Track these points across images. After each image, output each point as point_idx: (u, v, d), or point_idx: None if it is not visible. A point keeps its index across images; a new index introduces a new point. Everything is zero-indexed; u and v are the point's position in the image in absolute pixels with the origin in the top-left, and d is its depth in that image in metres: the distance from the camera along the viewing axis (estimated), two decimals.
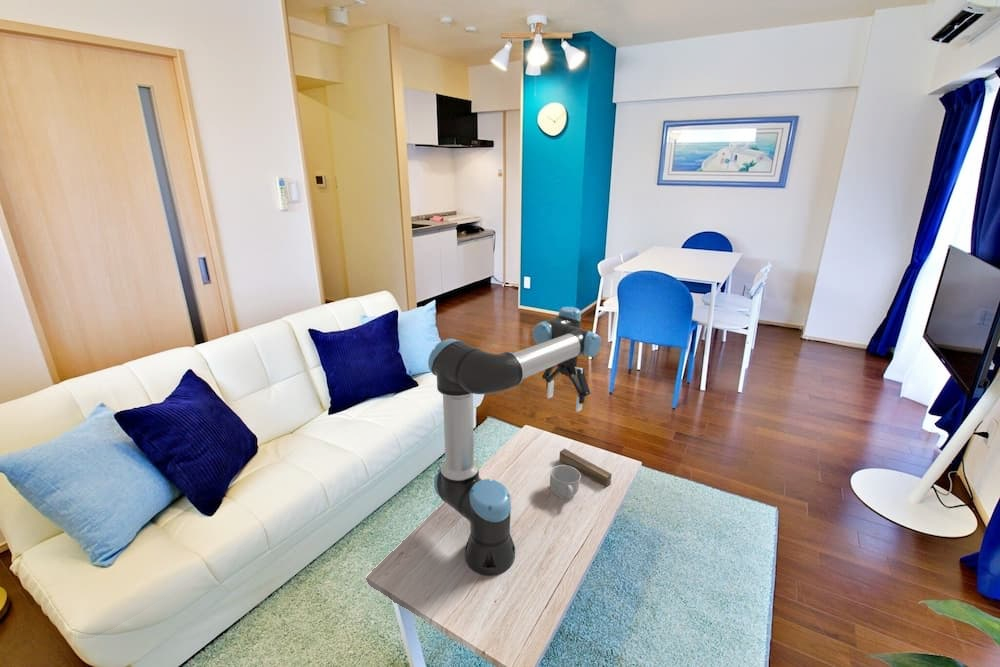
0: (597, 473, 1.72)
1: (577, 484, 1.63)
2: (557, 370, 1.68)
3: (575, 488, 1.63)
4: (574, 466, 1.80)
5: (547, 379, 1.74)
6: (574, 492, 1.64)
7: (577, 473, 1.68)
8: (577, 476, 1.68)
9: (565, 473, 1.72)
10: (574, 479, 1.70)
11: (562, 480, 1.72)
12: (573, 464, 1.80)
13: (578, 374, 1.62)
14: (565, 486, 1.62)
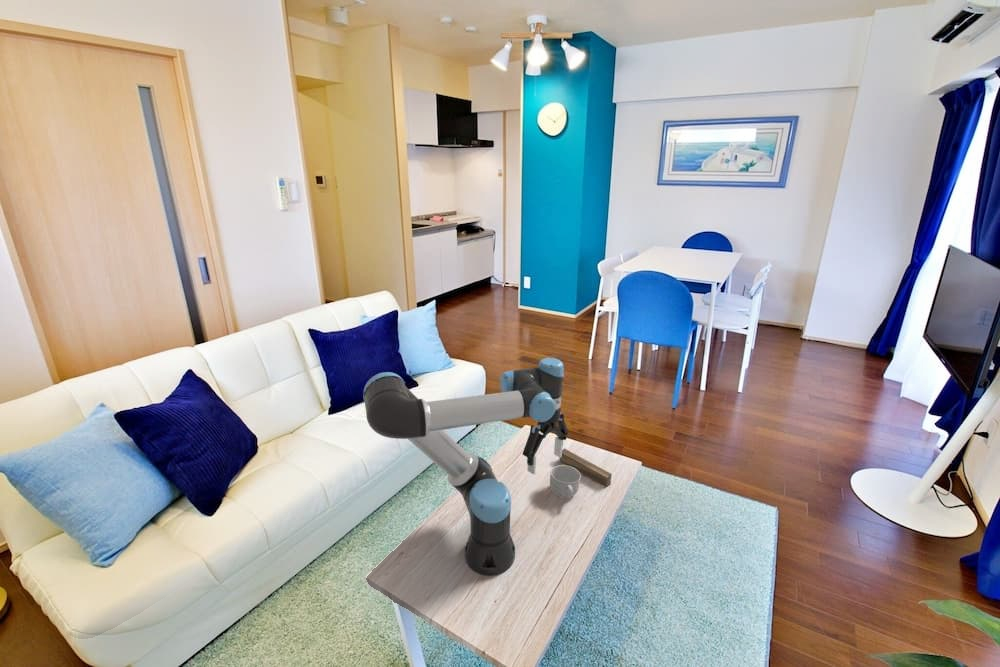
0: (597, 473, 1.72)
1: (577, 484, 1.63)
2: None
3: (575, 488, 1.63)
4: (574, 466, 1.80)
5: None
6: (574, 492, 1.64)
7: (577, 473, 1.68)
8: (577, 476, 1.68)
9: (565, 473, 1.72)
10: (574, 479, 1.70)
11: (562, 480, 1.72)
12: (573, 464, 1.80)
13: None
14: (565, 486, 1.62)
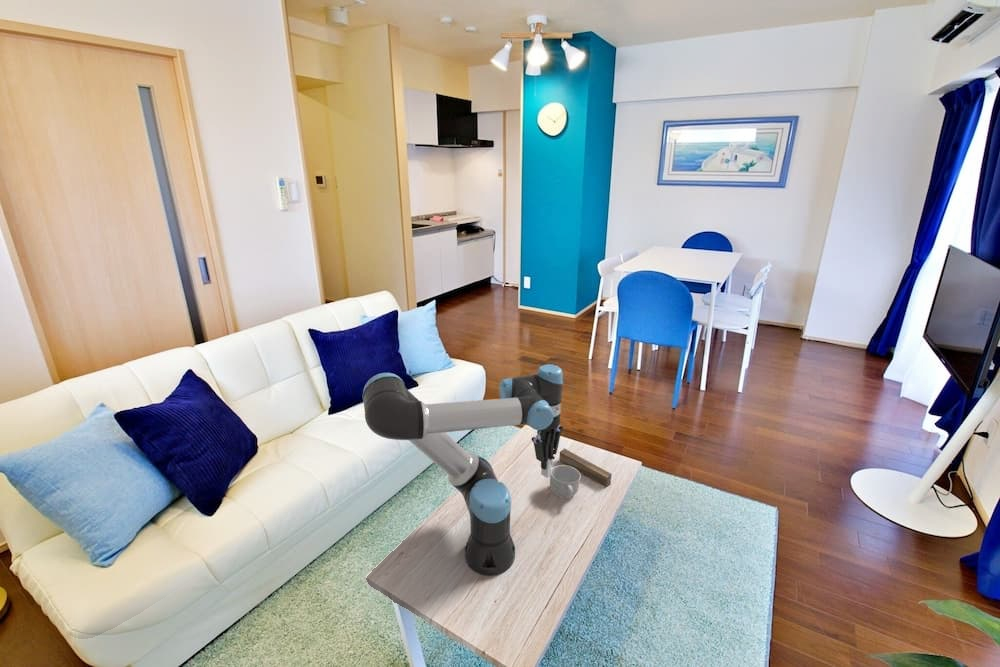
0: (597, 473, 1.72)
1: (577, 484, 1.63)
2: None
3: (575, 488, 1.63)
4: (574, 466, 1.80)
5: None
6: (574, 492, 1.64)
7: (577, 473, 1.68)
8: (577, 476, 1.68)
9: (565, 473, 1.72)
10: (574, 479, 1.70)
11: (562, 480, 1.72)
12: (573, 464, 1.80)
13: None
14: (565, 486, 1.62)
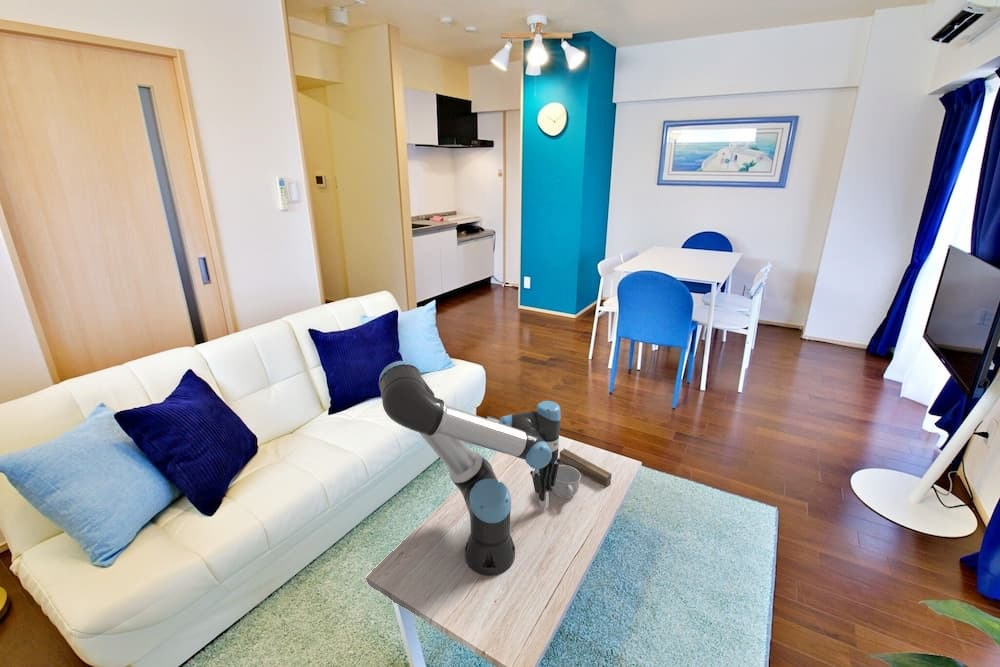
0: (597, 473, 1.72)
1: (577, 484, 1.63)
2: None
3: (575, 488, 1.63)
4: (574, 466, 1.80)
5: None
6: (574, 492, 1.64)
7: (577, 473, 1.68)
8: (577, 476, 1.68)
9: (565, 473, 1.72)
10: (574, 479, 1.70)
11: (562, 480, 1.72)
12: (573, 464, 1.80)
13: None
14: (565, 486, 1.62)
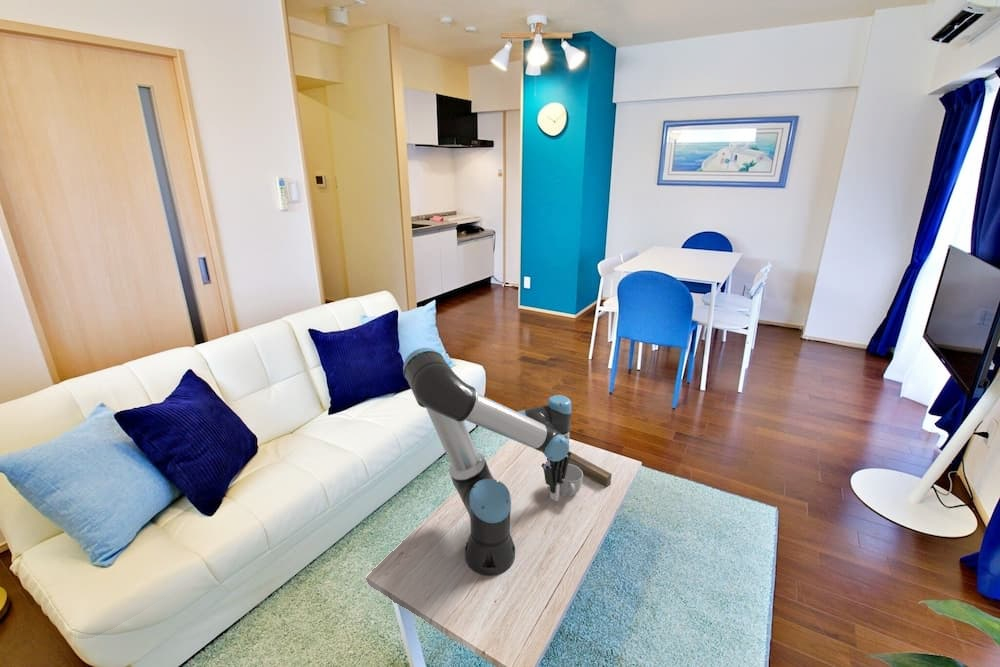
0: (597, 473, 1.72)
1: (579, 482, 1.64)
2: None
3: (577, 486, 1.64)
4: None
5: None
6: (576, 490, 1.64)
7: (579, 471, 1.69)
8: (579, 474, 1.69)
9: (567, 471, 1.72)
10: (576, 477, 1.71)
11: (564, 478, 1.73)
12: (573, 464, 1.80)
13: None
14: (567, 484, 1.62)
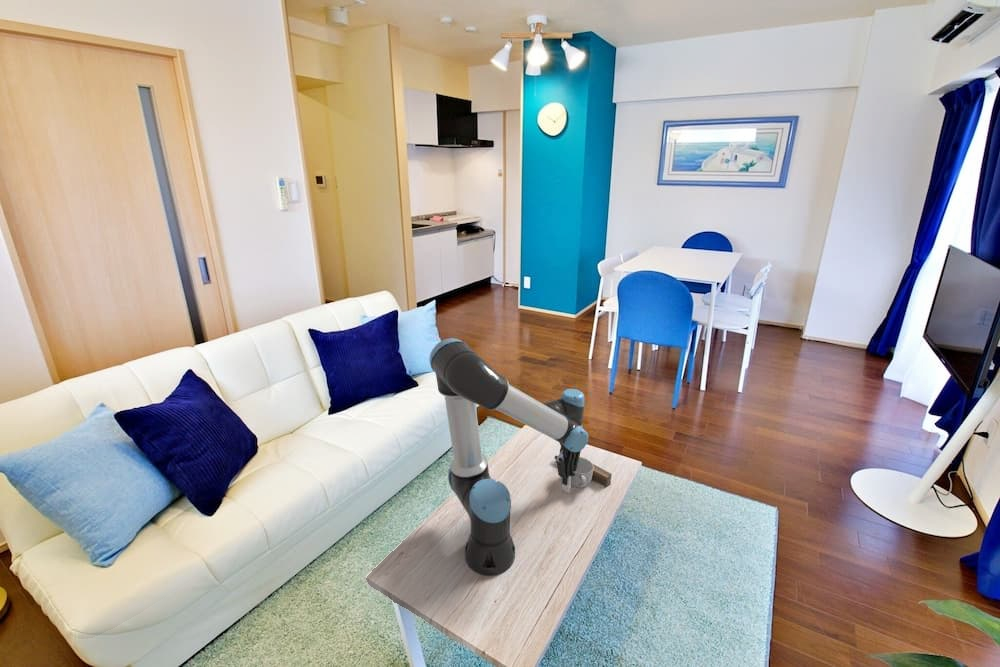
0: (597, 473, 1.72)
1: (590, 475, 1.68)
2: None
3: (588, 478, 1.68)
4: None
5: None
6: (587, 482, 1.69)
7: (590, 464, 1.73)
8: (590, 467, 1.73)
9: (578, 464, 1.77)
10: (587, 470, 1.75)
11: (575, 471, 1.77)
12: None
13: None
14: (578, 476, 1.67)
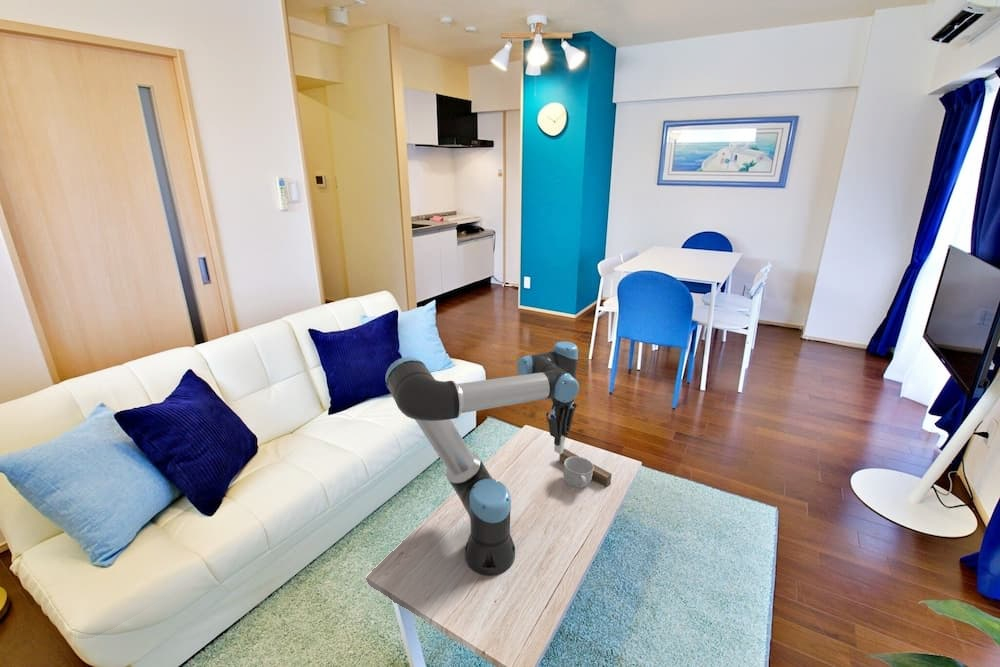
0: (597, 473, 1.72)
1: (590, 475, 1.68)
2: None
3: (588, 479, 1.68)
4: None
5: None
6: (587, 482, 1.69)
7: (590, 464, 1.73)
8: (590, 467, 1.73)
9: (578, 464, 1.77)
10: (587, 470, 1.75)
11: (575, 471, 1.77)
12: None
13: None
14: (578, 476, 1.67)
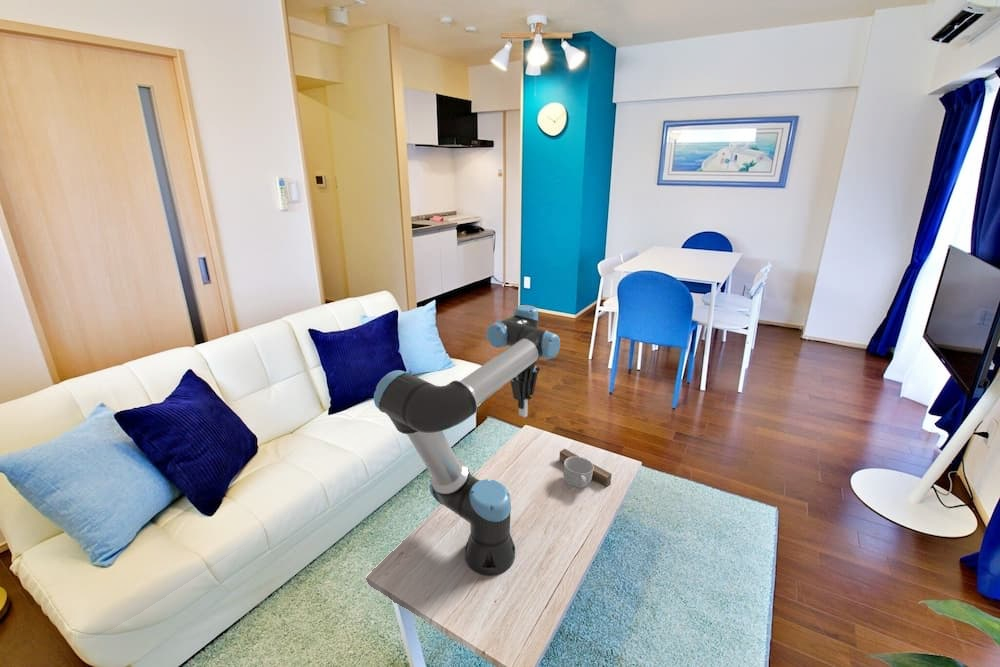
0: (597, 473, 1.72)
1: (590, 475, 1.68)
2: None
3: (588, 479, 1.68)
4: None
5: None
6: (587, 482, 1.69)
7: (590, 464, 1.73)
8: (590, 467, 1.73)
9: (578, 464, 1.77)
10: (587, 470, 1.75)
11: (575, 471, 1.77)
12: None
13: None
14: (578, 476, 1.67)
